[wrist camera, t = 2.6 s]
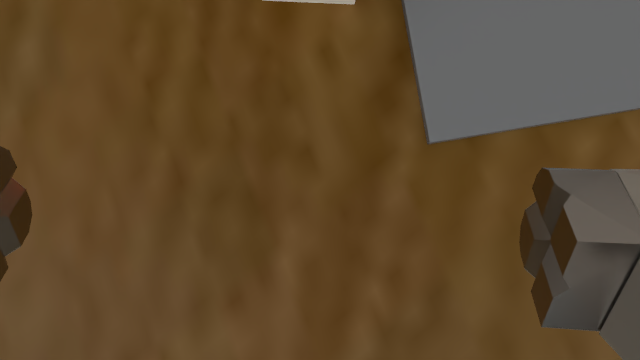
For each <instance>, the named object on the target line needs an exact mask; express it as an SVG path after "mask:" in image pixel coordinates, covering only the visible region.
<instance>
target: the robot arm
mask: <svg viewBox="0 0 640 360" xmlns="http://www.w3.org/2000/svg"><path fill="white" fill-rule="evenodd" d="M16 168H17V166H16V164H15V162H14V160H13V158H12V156H11V153H10V151H9V150H7V149H5V148H3V147H1V146H0V281H1V279H2V278H3V276H4V274H5V273H6V271H7V269H8V265H7V261H6V258H5V256H7V255H8V254H10V253H11V252H13V251H14V250H16V249H17V248H19V247H21V245H22V244H23V242H24V240H25V238H26V236H27V235H28V233H29V228H30V223H31V218H32V210H31V201H30V199H29V196H28V193H27V191H26V189H25V188H24V187H23V186H21V185H20V184H19V183H18V182H16V181H15V180H14V179H13V178H12V176H13V174H14V172H15V170H16ZM532 189H533V192H534V195H535V198H536V202H535V203H533V204H532V205H531V206H529V207H528V208H527V209H526V210H525V212H524V216H523V219H522V223H521V228H520V242H519V243H520V252H521V258H522V261H523V265H524V268H525V269H526V270H527V271H528V272H529V273H530V274H531V275H533V276H534V277H535V281H534V284H533V287H532V289H531V293H532V297H533V300H534V304H535V307H536V310H537V314H538V317H539V321H540V324H541V327H548V328H561V329H575V330H589V331H600V333H599V334H600V336H601V337H602V338H603V339H604V340H605V341H606V342H607V343H608V344H609V345H610V346H611V347H612V348H613V349H614V350H615V351H616V352H617V354H618V355H619V356H620V357H621V358H622V359H623V360H640V170H635V169H610V170H592V169H563V168H541V170H540V171H539V173H538V174H537V176H536V179H535V181H534V184H533V187H532Z"/></svg>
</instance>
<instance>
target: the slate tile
mask: <svg viewBox="0 0 640 360" xmlns="http://www.w3.org/2000/svg"><path fill="white" fill-rule="evenodd" d="M401 1H402V7H403V12H404V18H405V23H406V29H407V34H408V40H409V45H410V51H411V56H412V62H413V67H414V73H415V78H416V84H417V89H418V95H419V100H420V106H421V111H422V117H423V122H424V128H425V133H426V139H427V144H432V143H438V142H444V141H450V140H456V139H462V138H469V137H475V136H481V135H487V134H493V133H499V132H505V131H511V130H517V129H523V128H529V127H535V126H541V125H547V124H553V123H559V122H565V121H571V120H577V119H583V118H589V117H595V116H601V115H608V114H614V113H620V112H626V111H632V110H638V109H640V0H401Z"/></svg>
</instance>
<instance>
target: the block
mask: <svg viewBox="0 0 640 360" xmlns="http://www.w3.org/2000/svg"><path fill="white" fill-rule="evenodd" d="M266 1H289V2H312V3H336V4H355V0H266Z"/></svg>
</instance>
